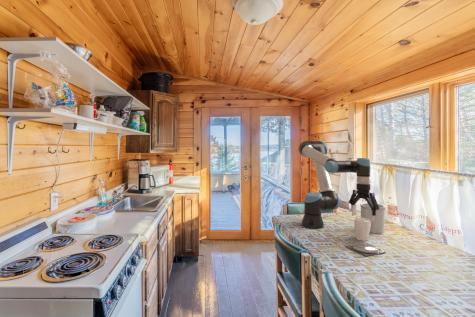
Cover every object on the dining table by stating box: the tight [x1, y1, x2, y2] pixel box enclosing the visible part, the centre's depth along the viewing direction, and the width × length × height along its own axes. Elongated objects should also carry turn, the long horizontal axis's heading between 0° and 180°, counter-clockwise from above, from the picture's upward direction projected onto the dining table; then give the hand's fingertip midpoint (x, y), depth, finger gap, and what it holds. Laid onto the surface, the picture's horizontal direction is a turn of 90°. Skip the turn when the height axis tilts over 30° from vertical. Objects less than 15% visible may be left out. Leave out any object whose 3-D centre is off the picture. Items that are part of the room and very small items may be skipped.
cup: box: [353, 217, 371, 242], centre depth 151 cm, size 9×9×12 cm
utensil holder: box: [360, 202, 386, 235], centre depth 167 cm, size 15×15×18 cm
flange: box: [344, 241, 387, 258], centre depth 135 cm, size 14×14×2 cm
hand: (362, 218), depth 150 cm, fingers open, 13 cm apart
